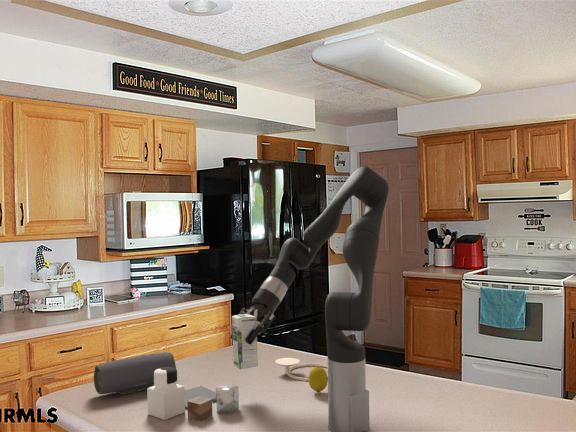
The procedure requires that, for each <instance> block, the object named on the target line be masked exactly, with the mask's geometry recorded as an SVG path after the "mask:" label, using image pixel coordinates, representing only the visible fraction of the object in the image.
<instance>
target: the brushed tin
mask: <svg viewBox="0 0 576 432" xmlns="http://www.w3.org/2000/svg"><path fill="white" fill-rule="evenodd" d="M215 390H216V391H215V392H216V401H215V403H216V404H215V405H216V413H218V414H221V415H233V414H236V413H238V412H239V411H240V398H239V397H240V395H239V394H240V391H239V386H238V385H236V384H229V383H228V384H221V385H219V386H217V387H216V388H215Z"/></svg>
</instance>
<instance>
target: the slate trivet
mask: <svg viewBox="0 0 576 432" xmlns="http://www.w3.org/2000/svg"><path fill="white" fill-rule="evenodd" d="M198 396H201V397H205V398H209V399H212V403H214V402H216V391H213V390H212V389H209V388H208V387H205V386H202V385H200V386H195V387H192V388H189V389H188V388H187V389H185V410H188V404H187V401H189V400H191V399H194V398H196V397H198Z"/></svg>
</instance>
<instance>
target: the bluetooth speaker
mask: <svg viewBox="0 0 576 432" xmlns="http://www.w3.org/2000/svg"><path fill="white" fill-rule="evenodd" d="M162 367H173V368H175V369H176V370H177V366H176V360H175V358H174V354H173V353H172V352H169V351H168V352H156V353H150V354H145V355H144V354H142V355H136V356H132V357H126V358H122V359H118V360H113V361H108V362H104V363H101V364H98V365H95V366H94V370H93V371H94V373H93V385H94V390H95V392H96V393H97V394H99V395H107V394H114V393H118V394H120V395H125V394H126V395H127V394H130V393H131V394H132V393H136V392H140V391H145V390H147V388H149V387H152V386H155V385H154V371H155V370H157V369H159V368H162Z"/></svg>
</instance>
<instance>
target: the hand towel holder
mask: <svg viewBox="0 0 576 432" xmlns="http://www.w3.org/2000/svg"><path fill="white" fill-rule="evenodd" d="M274 362H275V363H276V364H277V365H278V366H281V367H284V368H285V370H284V375H286V374H287V377H289V378H290V379H293V380H296V381H299V382H300V381H301V382H303V381H304V382H309V377H300V376H296V375H293V374H291V373H292V372H291V371H292V370H295V369H298V368H306V367H316V366H320V367H322V368H326V369H328V364H325V363H316V362H314V363H313V362H309V363H308V362H307V363H300V362H301V360H300V359H298V358H294V357H283V358H277V359H276V360H275V361H274ZM327 378H328V376H327Z"/></svg>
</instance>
